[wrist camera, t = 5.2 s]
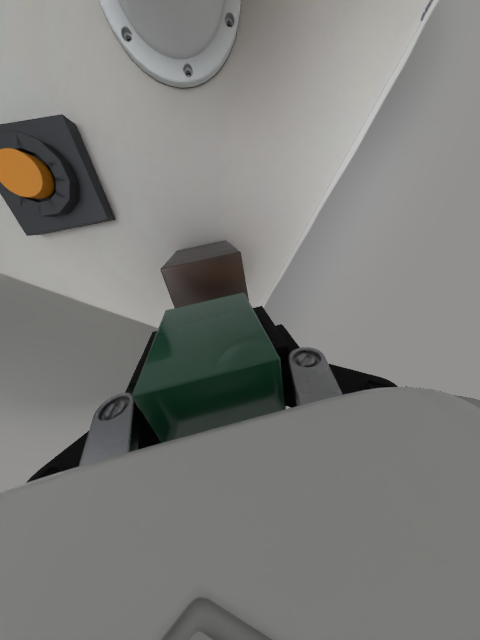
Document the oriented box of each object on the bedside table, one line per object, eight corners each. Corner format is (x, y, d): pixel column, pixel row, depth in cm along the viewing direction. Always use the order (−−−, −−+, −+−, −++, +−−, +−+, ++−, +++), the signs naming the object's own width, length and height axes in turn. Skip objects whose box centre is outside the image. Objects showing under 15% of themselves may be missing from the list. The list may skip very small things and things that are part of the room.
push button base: (-16, 139, 20) (-63, 121, 17) (75, 124, 21) (49, 104, 17) (40, 234, 24) (12, 236, 21) (115, 219, 25) (101, 219, 21)
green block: (165, 310, 11) (130, 396, 6) (243, 291, 11) (281, 357, 6) (189, 370, 13) (179, 475, 8) (255, 354, 13) (290, 443, 8)
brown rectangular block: (176, 250, 28) (160, 268, 17) (226, 240, 28) (240, 251, 17) (191, 297, 31) (185, 337, 20) (235, 287, 31) (252, 321, 21)
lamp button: (-1, 157, 18) (-19, 151, 17) (40, 150, 19) (25, 144, 17) (25, 202, 20) (11, 200, 19) (62, 195, 20) (51, 193, 19)
